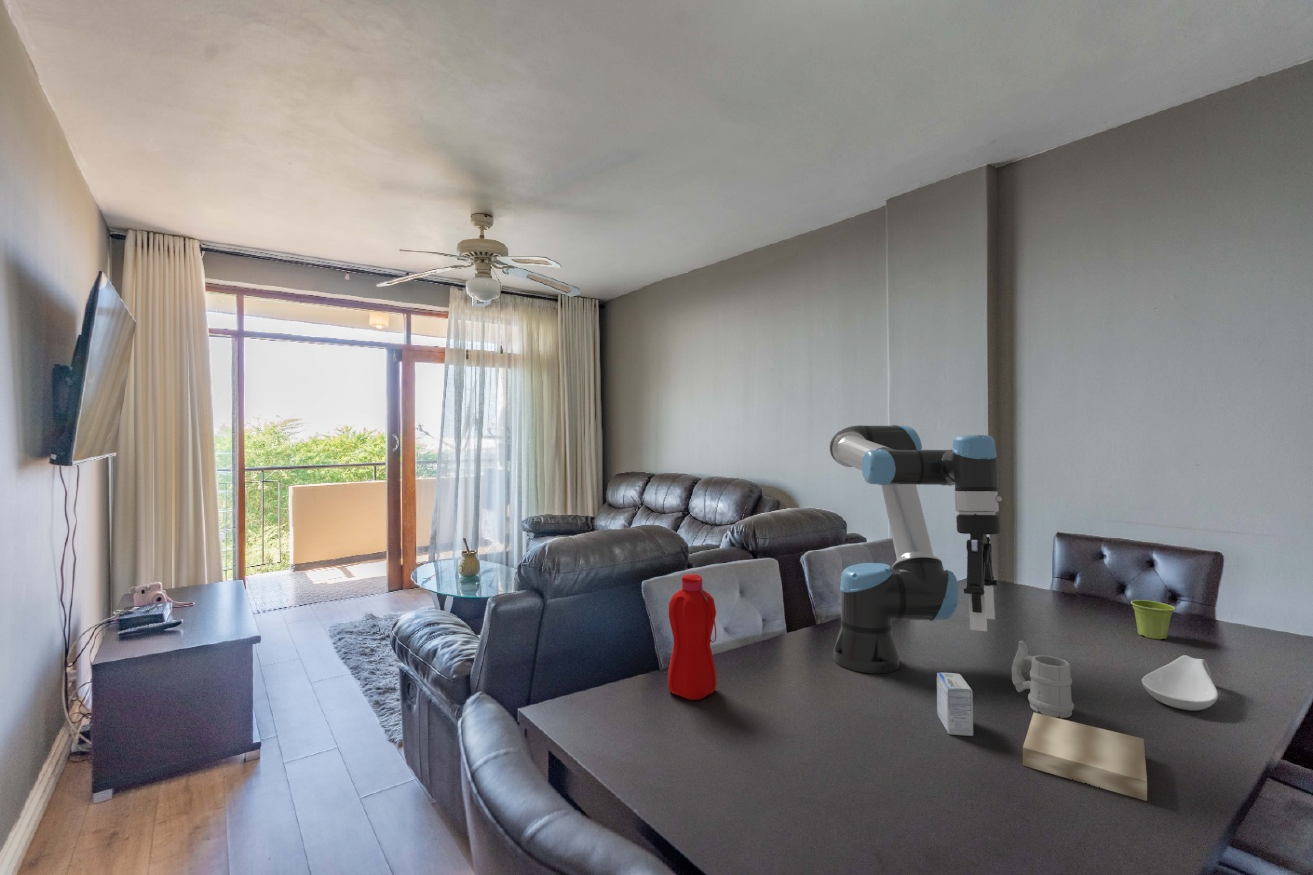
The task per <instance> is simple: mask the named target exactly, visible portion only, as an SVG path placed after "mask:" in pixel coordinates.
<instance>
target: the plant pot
mask: <svg viewBox="0 0 1313 875" xmlns="http://www.w3.org/2000/svg"><path fill="white" fill-rule="evenodd" d="M1130 604H1131V605H1132V608H1133V611H1134V615H1135V623H1136V629H1137V634H1138V635H1139V636H1144V637H1145V638H1149V639H1153V640H1162V639H1164V640H1167V638H1168V633H1169V628H1170V622H1171V617H1172V615H1173V614H1174V611H1175V610H1176V607H1175V606H1173V605H1170V604H1167V603H1163V602H1159V601H1153V600H1145V599H1144V600H1143V599H1134V600H1130Z"/></svg>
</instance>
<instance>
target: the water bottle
mask: <svg viewBox="0 0 1313 875" xmlns="http://www.w3.org/2000/svg"><path fill="white" fill-rule="evenodd" d="M680 580H681V589H680V590H678V591H677V592H675V593H673V595H672V596H671V598H670V600H669V603H668V620H669V624H670V629H671V633H672V637H673V638H672V639H673V640H672V641H673V647H672V650H671V656H670V661H669V665H668V672H667V674H668V675H667V687H668V690H669V692H671V694H672V695H673V694H674V695H675V696H679V697H681V698H684V699H687V700H689V701H699V700H702V699H704V698H706V697H708V696H709V695H711V694H713V693H714V691H716V688H717V669H716V665H715V661H714V660H715V659H714V656H713V651H712V647H711V643H715V642H716V640H717V626H716V616H717V609H716V604H715V600H714V597H713V596H712V595H711V594H710V593H709V592H707V591H705V590H704V589H703V588H704V587H703V577H702V576H701V574H695V573H694V574H685V575H682V577H681V579H680ZM713 630H714V640H712V639H711V638H712V635H713Z"/></svg>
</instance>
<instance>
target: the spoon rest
mask: <svg viewBox="0 0 1313 875" xmlns="http://www.w3.org/2000/svg"><path fill="white" fill-rule="evenodd" d="M1141 683H1142V686H1143V688H1144V689H1145V690H1146V692H1147V693H1148V694H1149V695H1150V696H1151V697H1152V698H1154V699H1155V700H1157V701H1158V702H1160V703H1162V704H1164V705H1166V706H1168V707H1171V708H1175V709H1179V710H1184V711H1193V712H1194V711H1201V710H1206V709H1208V708H1210V707H1211V706H1213V705H1214V704H1215V703H1216V702H1217V700H1218V699H1219V694H1218V690H1217V688H1216V686H1215V683H1213V679H1212V673H1211V669H1209V665H1208V663H1207V662H1206V660H1205V659H1203V658H1195V657H1191V656H1189V655H1186V654H1182V655H1180V656H1179V657H1178V658H1176V659H1174V660H1173V661H1171V662H1170V663H1167V664H1166V665H1163V666H1160V667H1159V668H1157V669H1155V670H1152V671H1151V672H1149V673H1147V674H1146V675H1144V676H1143V677H1142V678H1141Z"/></svg>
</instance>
